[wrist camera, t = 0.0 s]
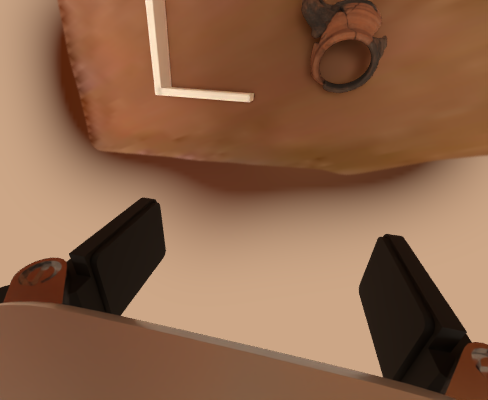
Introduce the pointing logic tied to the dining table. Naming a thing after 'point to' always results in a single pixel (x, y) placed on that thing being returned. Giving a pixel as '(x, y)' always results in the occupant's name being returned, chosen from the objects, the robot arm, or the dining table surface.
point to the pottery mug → (343, 34)
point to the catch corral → (162, 61)
